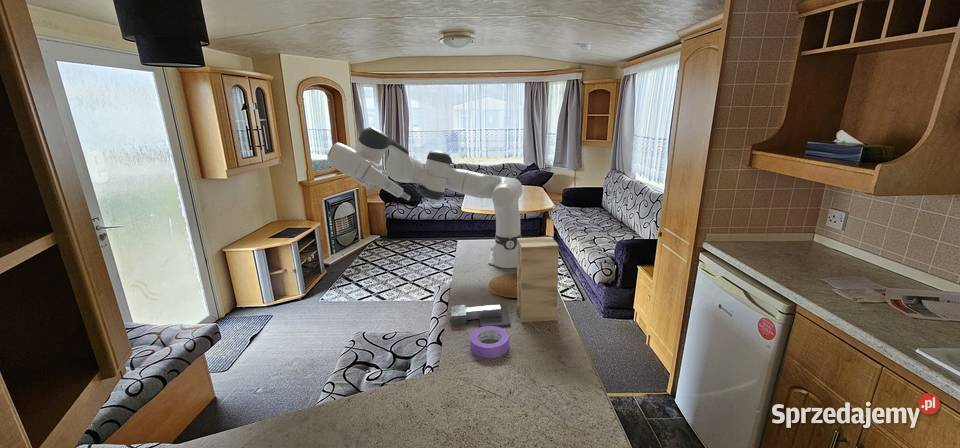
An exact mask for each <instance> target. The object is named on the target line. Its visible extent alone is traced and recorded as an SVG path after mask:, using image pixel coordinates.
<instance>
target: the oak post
mask: <svg viewBox="0 0 960 448" xmlns="http://www.w3.org/2000/svg"><path fill="white" fill-rule="evenodd" d="M559 246H560V245H559V244H558V243H557V241H556V240H555V239H554V237H553V236H537V237H534V236H533V237H522V238H517V267H516V283H517V284H516V294H517V295H516V299H517V300H516V303H517V304H516V309H517V314H518V316H519V318H520V322H521V323H528V322H529V323H532V322H534V323H535V322H548V321H549V322H550V321H557V315H558V314H557V309H558V281H559V278H558V277H559V250H560V249H559V248H560V247H559Z"/></svg>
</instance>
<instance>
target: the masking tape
mask: <svg viewBox="0 0 960 448" xmlns="http://www.w3.org/2000/svg"><path fill="white" fill-rule="evenodd" d="M469 338H470V349H471V352H472V353H473V354H474V355H476V356H477V357H481V358H484V359H496V358H499V357H501V356H503V355H505V354H506V353H507V352H508V351H509V347H510V345H509V344H510V341H509V340H510V339H509V338H510V336H509V333H508V332H507V330H505V329H504V328H502V327H496V326H484V327H478V328H476V329H474V330H473V331H472V332H471V334H470V335H469ZM486 340H494V341H496V342H493V343H484V342H483V341H486Z"/></svg>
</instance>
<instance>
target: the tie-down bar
mask: <svg viewBox="0 0 960 448" xmlns="http://www.w3.org/2000/svg"><path fill="white" fill-rule="evenodd" d="M500 305H501V304H490V305H480V306H479V305H478V306H469V307H466V304H459V305H451V306H450V315H451V316H450V317H451V318H450V319H451V326H460V325H461V326H462V325H467V324H468V322H467V321H468V320H477V319H479V320H480V318H490V317H501V307H500Z"/></svg>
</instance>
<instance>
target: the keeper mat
mask: <svg viewBox="0 0 960 448" xmlns="http://www.w3.org/2000/svg"><path fill="white" fill-rule="evenodd" d="M500 307H501V317H490V318H480V319H479V326H480V327H484V326H496V327H500V328H502V327H511V320H510V317H509V314H508V310H507V305H506V304H504V305H503V304H502V305H501V304H500ZM480 327H479V328H480Z"/></svg>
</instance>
